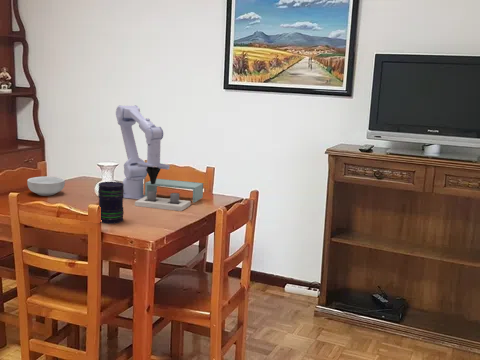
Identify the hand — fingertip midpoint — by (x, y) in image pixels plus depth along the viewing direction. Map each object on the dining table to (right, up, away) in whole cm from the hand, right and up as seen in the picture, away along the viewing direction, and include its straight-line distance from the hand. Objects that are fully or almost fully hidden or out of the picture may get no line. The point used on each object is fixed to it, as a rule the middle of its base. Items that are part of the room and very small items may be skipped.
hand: (153, 183), depth 256 cm
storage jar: (-12, -15, -30) cm, 35 cm away
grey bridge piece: (+8, -7, +13) cm, 17 cm away
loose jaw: (-1, -9, +1) cm, 9 cm away
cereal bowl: (-52, -5, +11) cm, 54 cm away
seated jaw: (+10, -10, -2) cm, 14 cm away
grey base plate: (+4, -10, 0) cm, 11 cm away
